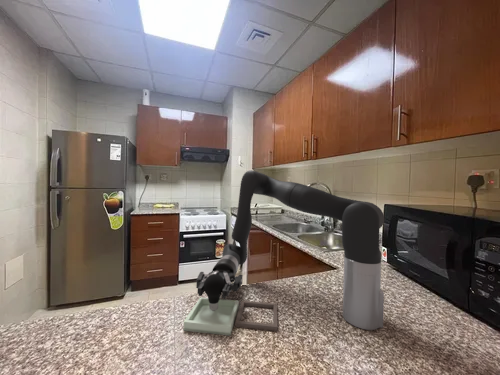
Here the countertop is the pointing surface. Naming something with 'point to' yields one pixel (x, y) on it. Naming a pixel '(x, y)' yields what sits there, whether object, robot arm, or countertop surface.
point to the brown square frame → (255, 324)
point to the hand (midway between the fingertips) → (211, 293)
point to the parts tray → (212, 317)
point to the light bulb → (214, 290)
